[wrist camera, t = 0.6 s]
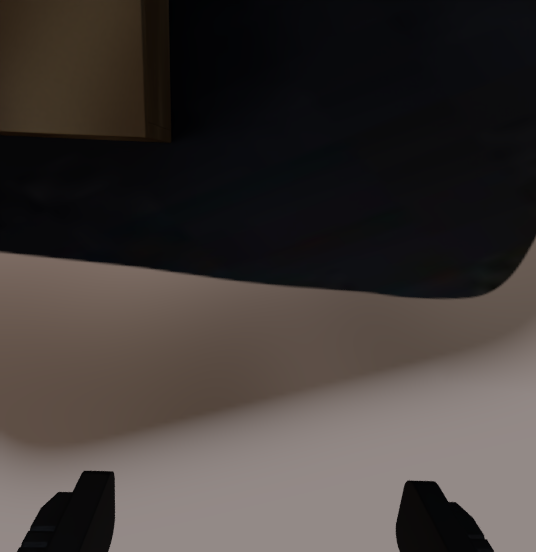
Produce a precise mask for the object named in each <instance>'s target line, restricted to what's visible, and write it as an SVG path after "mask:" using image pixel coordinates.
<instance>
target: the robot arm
mask: <svg viewBox="0 0 536 552" xmlns="http://www.w3.org/2000/svg"><path fill="white" fill-rule="evenodd" d="M114 522H115V478H114V472H110V471H84V472H83V473H82V474H81V476H80V478H79V480H78V482H77V484H76V487H75V489H74V490H73V492H58V493H57V494H56V495H55V496H54V497H53V498H51V499H50V500H49V501H48V502H47V503H46V504H45V505H44V506H43V507H42V508H41V509H40V511H39V513H38V515H37V517H36V518H35V520H34V522H33V524H32V525H31V528H30V531H28V533H27V534H26V536H25V538H24V540H23V542H22V545H21V547H20V548H19V549H18V551H17V552H108V550H109V547H110V544H111V540H112V535H113V530H114ZM396 538H397V544H398V548H399V550H400V552H494V550H493V549H492V547H491V546H490V544H489V543H488V541H487V540H486V539H485V538H484V535H483V533H482V531H481V530H480V528H479V527H478V525H477V524H476V522H475V520H474V519H473V518H472V517H471V516H470V515H469V514H468V513H467V512H466V511H465V510H464V509H463V508H461V507H460V506H459V505H458V504H457V503H456V502H448V501H447V499H446V497H445V496H444V494H443V492H442V491H441V489H440V487H439V486H438V484H437V483H436V482H434V481H407V482H406V483H405V486H404V490H403V495H402V499H401V504H400V508H399V513H398V517H397V522H396Z"/></svg>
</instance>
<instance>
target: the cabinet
mask: <svg viewBox="0 0 536 552" xmlns="http://www.w3.org/2000/svg"><path fill="white" fill-rule="evenodd" d="M0 135H6V136H29V137H52V138H75V139H98V140H121V141H144V142H167V143H171V100H170V48H169V0H0Z"/></svg>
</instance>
